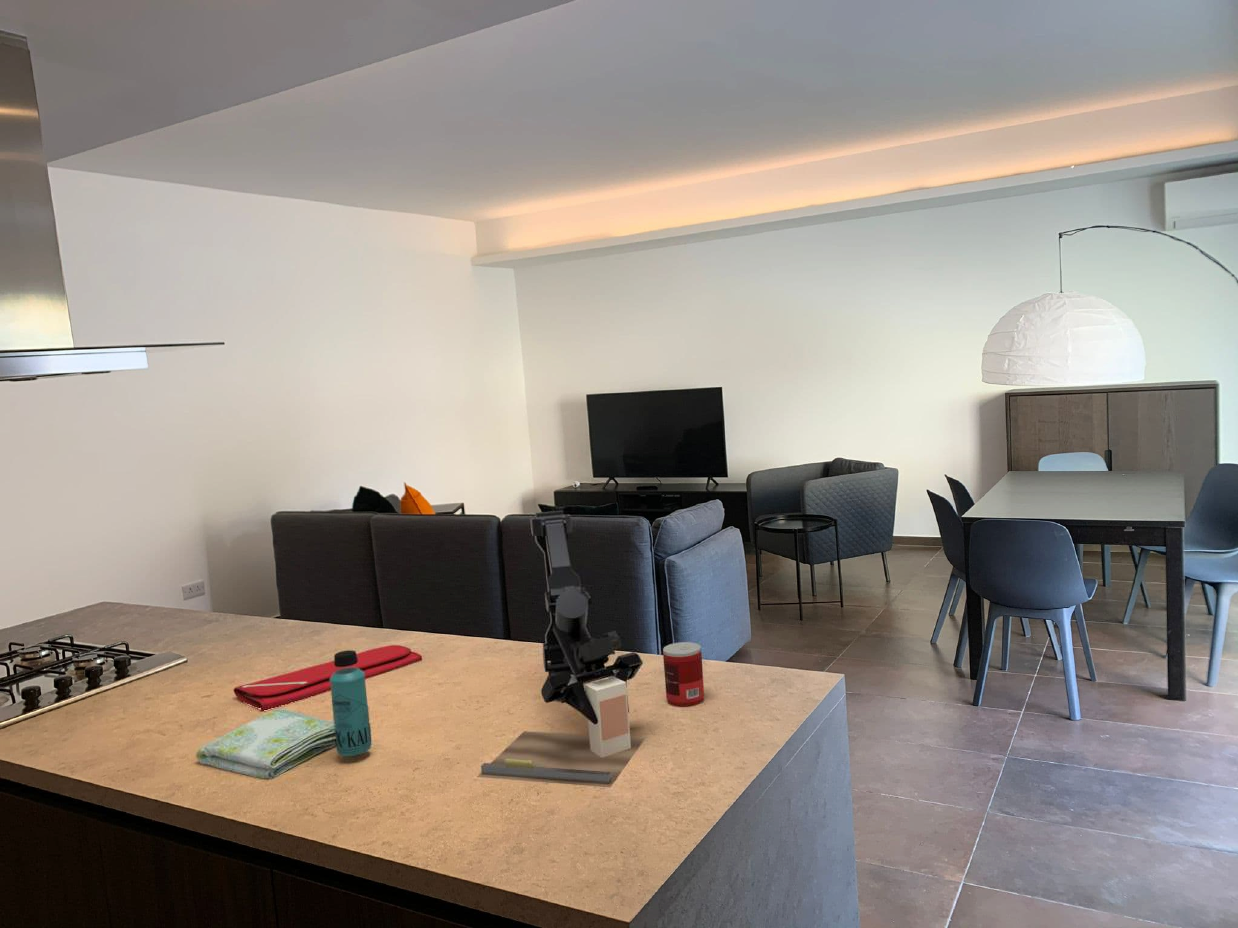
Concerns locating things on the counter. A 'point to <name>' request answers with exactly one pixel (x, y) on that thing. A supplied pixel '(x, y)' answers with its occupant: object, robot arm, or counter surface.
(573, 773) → the price rail
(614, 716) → the cream box
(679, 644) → the canned food
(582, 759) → the shelf board
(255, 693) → the dish drying mat
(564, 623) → the robot arm
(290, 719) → the towel
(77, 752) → the counter surface
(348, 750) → the beverage bottle
